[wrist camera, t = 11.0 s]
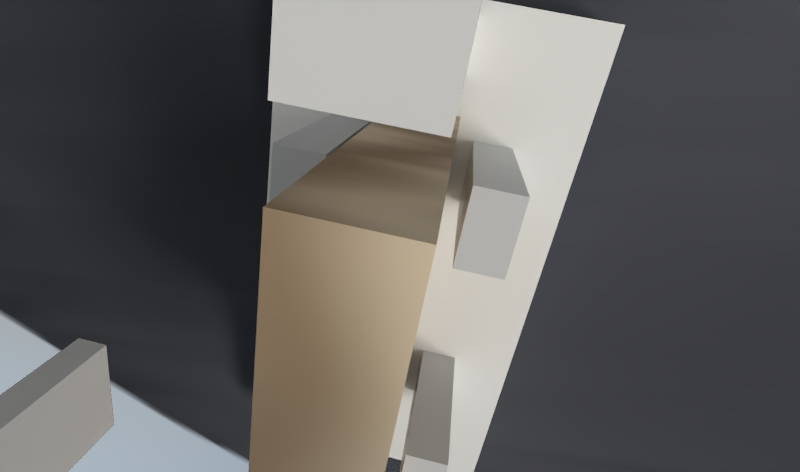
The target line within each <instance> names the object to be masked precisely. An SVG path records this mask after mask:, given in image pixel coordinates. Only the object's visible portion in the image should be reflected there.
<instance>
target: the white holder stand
mask: <svg viewBox="0 0 800 472" xmlns="http://www.w3.org/2000/svg"><path fill="white" fill-rule="evenodd" d="M624 27H625V25H622V24H617V23H611V22H606V21H600V20H595V19H590V18H584V17H579V16H573V15H568V14H562V13H557V12H551V11H546V10H540V9H535V8H529V7H524V6H518V5H513V4H508V3H502V2H497V1H491V0H273V9H272V28H271V46H270V65H269V84H268V100H269V101H273V105H272V122H271V140H270V157H269V174H268V192H267V203H269V202H270V201H271V200H272V199H274V198H275V197H276V196H278V195H279V194H280V193H281V192H283V191H284V190H285V189H287V188H288V187H289V186H290V185H292V184H293V183H294V182H296V181H297V180H298V179H299V178H301V177H302V176H303V175H305V174H306V173H307V172H308V171H310V170H311V169H312V168H314V167H315V166H316V165H317V164H319V163H320V162H321V161H323V160H324V159H325V158H326V157H328V156H329V155H330V154H332V153H333V152H334V151H335V150H337V149H338V148H339V147H341V146H342V145H343V144H344V143H346V142H347V141H348V140H350V139H351V138H352V137H354V136H355V135H356V134H357V133H359V132H360V131H361V130H363V129H364V128H365V127H366V126H368V125H369V124H370V123H372V122H376V123H381V124H386V125H391V126H396V127H401V128H406V129H411V130H415V131H420V132H425V133H430V134H435V135H440V136H445V137H450V138H451V137H452V133H453V128H454V124H455V120H456V116H459V117H460V122H459V128H458V133H457V138H456V144H455V149H454V154H453V160H452V165H451V170H450V176H449V181H448V186H447V192H446V197H445V202H444V208H443V213H442V218H441V224H440V229H439V234H438V240H437V245H436V249H435V254H434V258H433V263H432V267H431V271H430V276H429V280H428V285H427V289H426V293H425V298H424V302H423V307H422V311H421V315H420V320H419V324H418V329H417V333H416V337H415V342H414V346H413V351H412V355H411V359H410V364H409V368H408V373H407V377H406V381H405V386H404V390H403V395H402V399H401V403H400V408H399V412H398V417H397V421H396V425H395V430H394V434H393V439H392V443H391V448H390V452H389V456H388V457H391V458H395V459H399V460H402V461H401V467H400V472H474V469H475V466H476V463H477V460H478V457H479V454H480V451H481V448H482V445H483V443H484V440H485V437H486V434H487V431H488V428H489V425H490V422H491V419H492V416H493V413H494V410H495V407H496V404H497V401H498V398H499V395H500V392H501V390H502V387H503V384H504V381H505V378H506V375H507V372H508V369H509V366H510V363H511V360H512V357H513V354H514V351H515V348H516V345H517V342H518V339H519V337H520V334H521V331H522V328H523V325H524V322H525V319H526V316H527V313H528V310H529V307H530V304H531V301H532V298H533V295H534V292H535V289H536V286H537V284H538V281H539V278H540V275H541V272H542V269H543V266H544V263H545V260H546V257H547V254H548V251H549V248H550V245H551V242H552V239H553V236H554V233H555V231H556V228H557V225H558V222H559V219H560V216H561V213H562V210H563V207H564V204H565V201H566V198H567V195H568V192H569V189H570V186H571V183H572V180H573V177H574V175H575V172H576V169H577V166H578V163H579V160H580V157H581V154H582V151H583V148H584V145H585V142H586V139H587V136H588V133H589V130H590V127H591V124H592V122H593V119H594V116H595V113H596V110H597V107H598V104H599V101H600V98H601V95H602V92H603V89H604V86H605V83H606V80H607V77H608V74H609V71H610V69H611V66H612V63H613V60H614V57H615V54H616V51H617V48H618V45H619V42H620V39H621V36H622V33H623V30H624Z"/></svg>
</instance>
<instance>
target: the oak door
mask: <svg viewBox="0 0 800 472" xmlns="http://www.w3.org/2000/svg"><path fill="white" fill-rule="evenodd" d="M459 122H460V117H459V116H456V120H455V124H454V128H453V133H452V137H451V138H450V137H445V136H440V135H435V134H430V133H425V132H420V131H415V130H411V129H406V128H401V127H396V126H391V125H386V124H381V123H376V122H372V123H370V124H369V125H368V126H366V127H365V128H364V129H363V130H361V131H360V132H359V133H357V134H356V135H355V136H354V137H352V138H351V139H350V140H348V141H347V142H346V143H344V144H343V145H342V146H341V147H339V148H338V149H337V150H335V151H334V152H333V153H332V154H330V155H329V156H328V157H326V158H325V159H324V160H323V161H321V162H320V163H319V164H317V165H316V166H315V167H314V168H312V169H311V170H310V171H308V172H307V173H306V174H305V175H303V176H302V177H301V178H299V179H298V180H297V181H296V182H294V183H293V184H292V185H290V186H289V187H288V188H287V189H285V190H284V191H283V192H281V193H280V194H279V195H278V196H276V197H275V198H274V199H272V200H271V201H270V202H269V203H267V204H266V205H265V206H263V218H262V236H261V255H260V273H259V292H258V310H257V328H256V347H255V365H254V384H253V402H252V421H251V439H250V457H249V472H385V470H386V465H387V461H388V456H389V452H390V448H391V443H392V439H393V434H394V430H395V425H396V421H397V417H398V412H399V408H400V403H401V399H402V395H403V390H404V386H405V381H406V377H407V373H408V368H409V364H410V359H411V355H412V351H413V346H414V342H415V337H416V333H417V329H418V324H419V320H420V315H421V311H422V307H423V302H424V298H425V293H426V289H427V285H428V280H429V276H430V271H431V267H432V263H433V258H434V254H435V249H436V245H437V240H438V234H439V229H440V224H441V218H442V213H443V208H444V202H445V197H446V192H447V186H448V181H449V176H450V170H451V165H452V160H453V154H454V149H455V144H456V138H457V133H458V128H459Z"/></svg>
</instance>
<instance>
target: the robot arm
mask: <svg viewBox="0 0 800 472" xmlns="http://www.w3.org/2000/svg"><path fill="white" fill-rule="evenodd" d="M113 425H114V419H113V408H112V398H111V389H110V378H109V368H108V358H107V348H106V345H104V344H100V343H96V342H92V341H88V340H84V339H80V338H78V339H77V340H76V341H74V342H73V343H71V344H70V345H69V346H67V347H66V348H65V349H63V350H62V351H60V352H59V353H58V354H56V355H55V356H54V357H52V358H51V359H49V360H48V361H47V362H45V363H44V364H42V365H41V366H40V367H38V368H37V369H36V370H34V371H33V372H31V373H30V374H29V375H27V376H26V377H25V378H23V379H22V380H21V381H19V382H18V383H16V384H15V385H14V386H12V387H11V388H9V389H8V390H7V391H5V392H4V393H2V394H1V395H0V472H68V471H69V470H70V469H71V468H72V467H73V466H74V465H75V464H76V463H77V462H78V461H79V460H80V459H81V458H82V457H83V456H84V455H85V454H86V453H87V452H88V450H90V448H91V447H92V446H93V445H94V444H95V443H96V442H97V441H98V440H99V439H100V438H101V437H102V436H103V435H104V434H105V433H106V432H107V431H108V430H109V429H110V428H111V427H112V426H113Z"/></svg>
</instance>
